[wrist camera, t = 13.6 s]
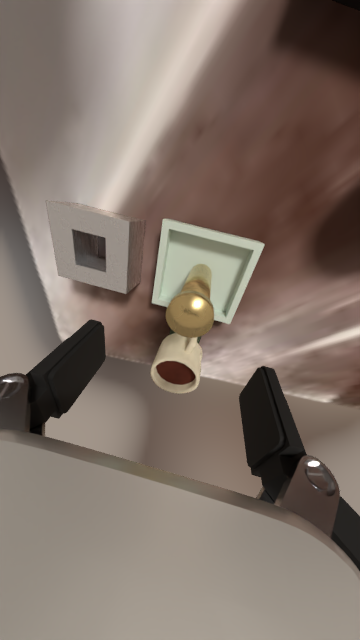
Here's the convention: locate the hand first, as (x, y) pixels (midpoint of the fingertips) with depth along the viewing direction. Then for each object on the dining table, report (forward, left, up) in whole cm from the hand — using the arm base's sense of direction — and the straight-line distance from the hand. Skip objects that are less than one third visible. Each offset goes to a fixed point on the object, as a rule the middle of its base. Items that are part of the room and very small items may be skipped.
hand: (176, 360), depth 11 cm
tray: (+1, 0, -22) cm, 22 cm away
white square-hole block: (0, -16, -22) cm, 27 cm away
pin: (+1, 0, -21) cm, 21 cm away
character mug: (+12, 0, -22) cm, 25 cm away
